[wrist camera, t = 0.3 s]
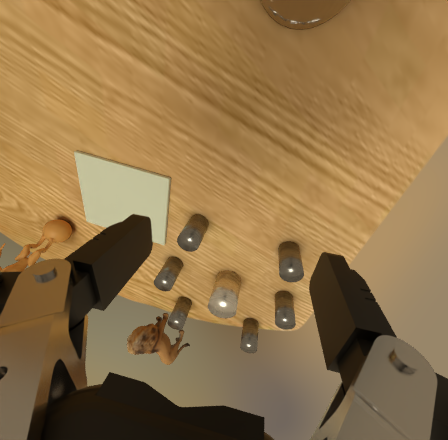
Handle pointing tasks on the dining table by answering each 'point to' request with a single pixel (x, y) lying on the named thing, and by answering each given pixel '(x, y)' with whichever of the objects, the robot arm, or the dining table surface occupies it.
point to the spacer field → (283, 318)
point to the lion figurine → (155, 341)
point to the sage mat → (122, 193)
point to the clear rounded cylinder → (225, 294)
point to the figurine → (51, 232)
